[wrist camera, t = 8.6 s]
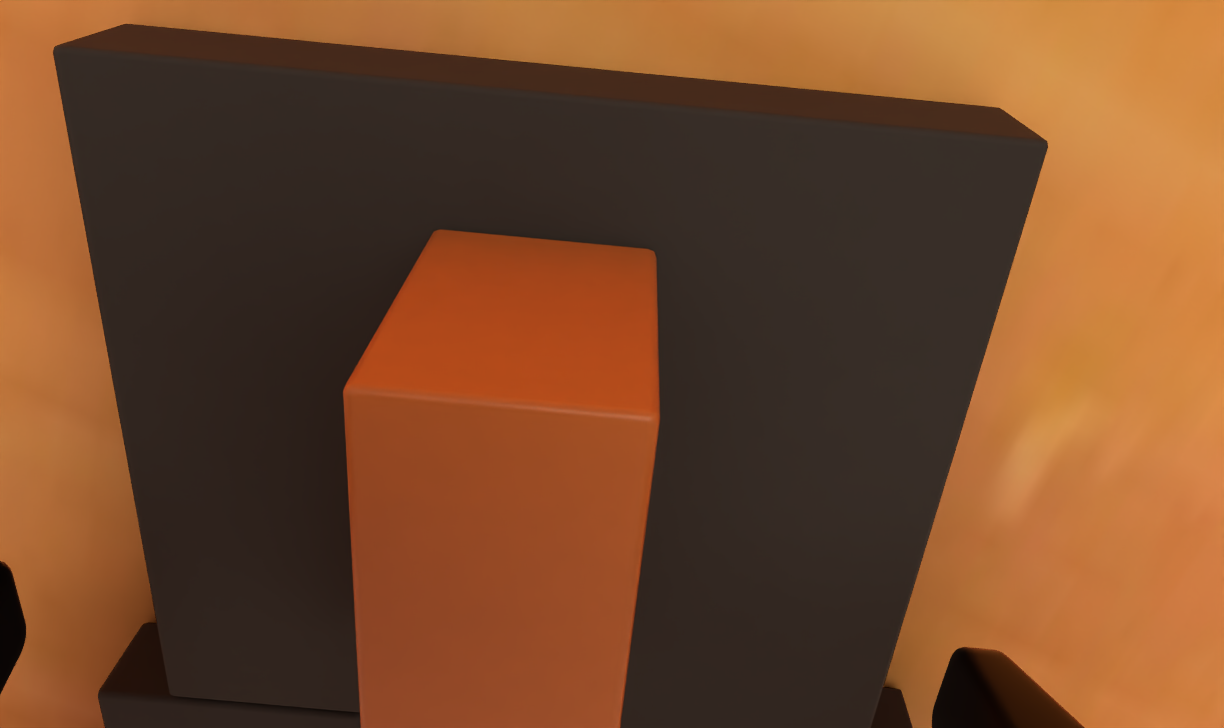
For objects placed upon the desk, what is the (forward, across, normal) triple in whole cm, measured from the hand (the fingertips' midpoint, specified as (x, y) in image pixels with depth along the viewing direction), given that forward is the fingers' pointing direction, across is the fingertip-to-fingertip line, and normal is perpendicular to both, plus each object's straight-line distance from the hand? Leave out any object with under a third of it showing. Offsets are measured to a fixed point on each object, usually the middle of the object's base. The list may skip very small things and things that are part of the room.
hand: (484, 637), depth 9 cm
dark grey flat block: (+4, 0, +2) cm, 5 cm away
